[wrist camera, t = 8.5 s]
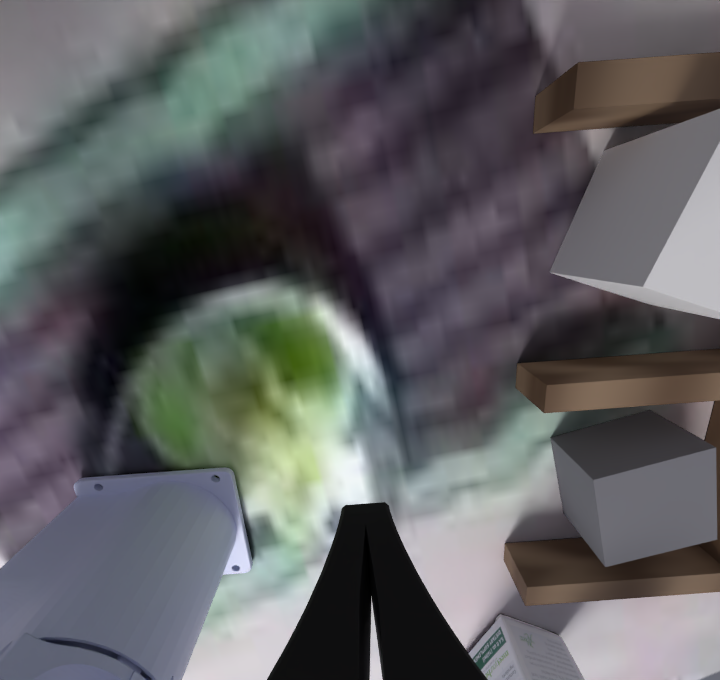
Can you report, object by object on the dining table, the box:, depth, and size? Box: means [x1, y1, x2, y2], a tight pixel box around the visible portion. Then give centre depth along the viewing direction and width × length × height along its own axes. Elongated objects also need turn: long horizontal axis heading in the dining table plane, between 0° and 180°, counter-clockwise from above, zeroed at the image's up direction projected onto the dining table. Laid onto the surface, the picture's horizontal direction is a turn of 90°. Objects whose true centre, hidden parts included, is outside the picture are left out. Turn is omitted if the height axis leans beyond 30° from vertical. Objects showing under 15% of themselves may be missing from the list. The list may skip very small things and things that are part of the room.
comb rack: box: [504, 52, 720, 606], centre depth 17 cm, size 14×28×4 cm, turn 4°
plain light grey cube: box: [550, 109, 720, 319], centre depth 14 cm, size 6×6×6 cm
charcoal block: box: [551, 410, 717, 567], centre depth 19 cm, size 6×6×4 cm
